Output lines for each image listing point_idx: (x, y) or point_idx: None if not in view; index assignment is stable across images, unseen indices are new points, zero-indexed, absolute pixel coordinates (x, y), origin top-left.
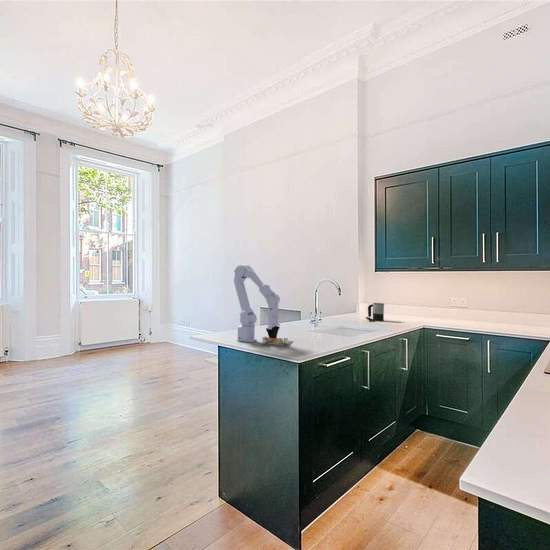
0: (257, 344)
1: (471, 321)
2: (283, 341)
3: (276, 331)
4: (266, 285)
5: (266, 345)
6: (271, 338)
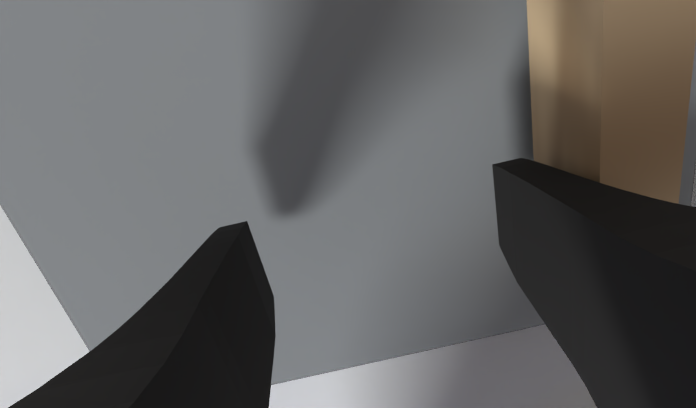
0: None
1: None
2: (65, 45)
3: (189, 380)
4: None
5: (688, 181)
6: (677, 196)
